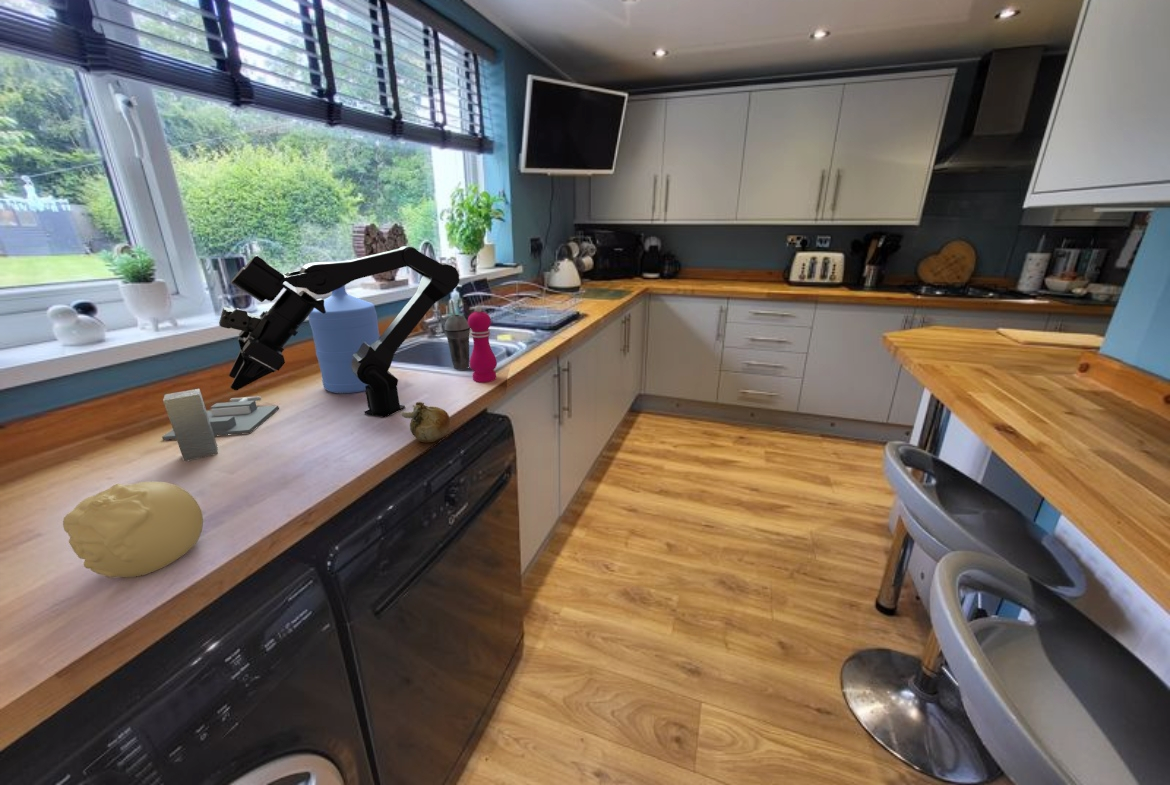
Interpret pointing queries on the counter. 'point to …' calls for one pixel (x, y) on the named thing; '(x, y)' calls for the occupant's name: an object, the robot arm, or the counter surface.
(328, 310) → the water jug
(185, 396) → the steel block
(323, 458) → the counter surface
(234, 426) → the stepped grey baseplate
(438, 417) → the onion
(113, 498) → the sculpture
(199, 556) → the counter surface
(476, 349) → the pepper mill
